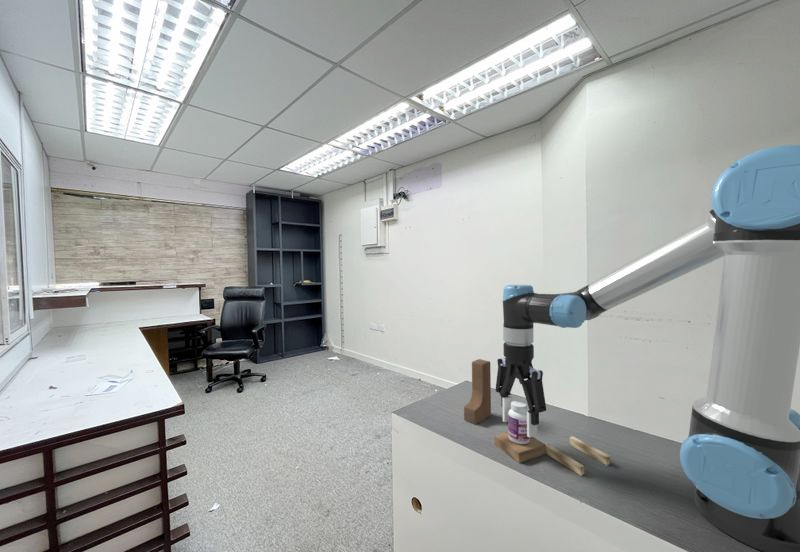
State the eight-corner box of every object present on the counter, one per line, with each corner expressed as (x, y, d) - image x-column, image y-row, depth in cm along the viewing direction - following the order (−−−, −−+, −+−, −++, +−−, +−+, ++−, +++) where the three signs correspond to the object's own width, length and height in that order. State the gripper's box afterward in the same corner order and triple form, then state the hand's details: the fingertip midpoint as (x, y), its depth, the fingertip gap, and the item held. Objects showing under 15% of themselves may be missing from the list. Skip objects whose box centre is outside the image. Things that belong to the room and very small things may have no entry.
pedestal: (545, 454, 79) (545, 444, 79) (519, 463, 76) (519, 453, 76) (519, 437, 88) (519, 428, 88) (494, 444, 84) (494, 435, 84)
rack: (609, 464, 75) (609, 456, 75) (580, 475, 71) (580, 467, 71) (572, 443, 84) (572, 436, 84) (544, 452, 80) (544, 445, 80)
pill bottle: (521, 447, 78) (521, 409, 78) (504, 438, 82) (503, 402, 82) (534, 441, 81) (533, 404, 81) (517, 432, 85) (516, 398, 85)
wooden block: (475, 425, 95) (474, 367, 95) (463, 419, 98) (462, 364, 98) (491, 415, 101) (490, 361, 101) (479, 411, 104) (479, 358, 104)
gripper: (563, 350, 73) (563, 444, 74) (501, 334, 93) (502, 409, 93) (539, 353, 70) (540, 452, 71) (481, 336, 90) (482, 414, 90)
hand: (519, 427), depth 82 cm, fingers open, 8 cm apart
